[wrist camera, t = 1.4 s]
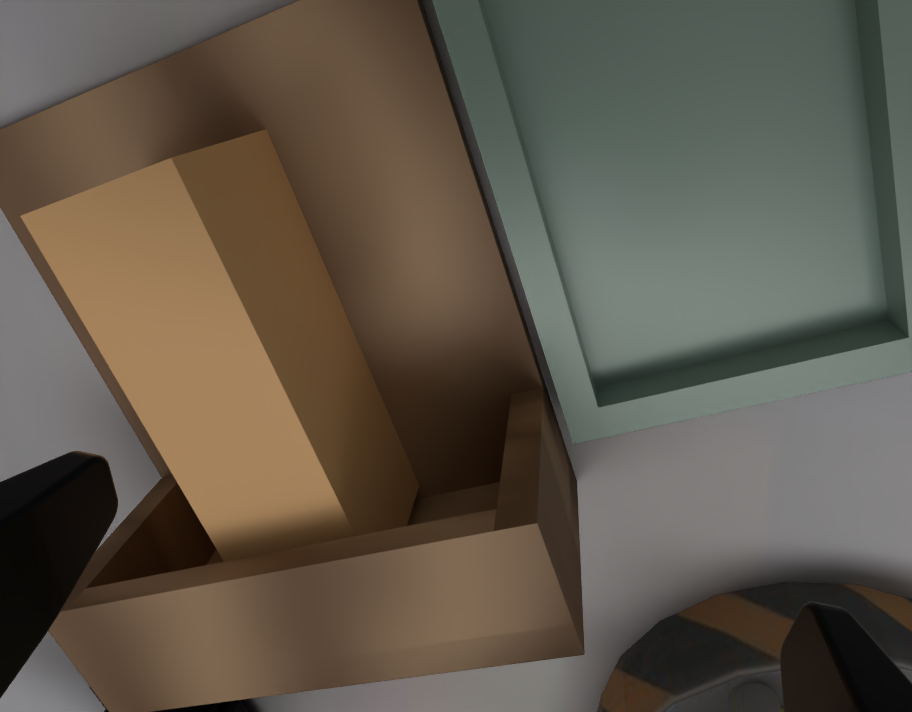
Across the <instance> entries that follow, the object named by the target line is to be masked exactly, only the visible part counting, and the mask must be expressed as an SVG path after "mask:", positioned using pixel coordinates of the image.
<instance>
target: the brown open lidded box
mask: <svg viewBox="0 0 912 712" xmlns="http://www.w3.org/2000/svg"><path fill="white" fill-rule="evenodd" d="M265 129H267V132H268V134H269V136H270V139H271V141H272V143H273V146H274V148H275V150H276V153H277V155H278V157H279V160H280V162H281V164H282V167H283V169H284V171H285V174H286V176H287V178H288V181H289V183H290V185H291V188H292V190H293V192H294V195H295V197H296V199H297V202H298V204H299V206H300V209H301V211H302V213H303V216H304V218H305V220H306V223H307V225H308V227H309V230H310V232H311V234H312V237H313V239H314V241H315V244H316V246H317V248H318V251H319V253H320V255H321V258H322V260H323V262H324V265H325V267H326V269H327V272H328V274H329V276H330V279H331V281H332V283H333V286H334V288H335V290H336V292H337V295H338V297H339V299H340V302H341V304H342V306H343V309H344V311H345V313H346V316H347V318H348V320H349V323H350V325H351V327H352V330H353V332H354V334H355V337H356V339H357V341H358V344H359V346H360V348H361V351H362V353H363V355H364V358H365V360H366V362H367V365H368V367H369V369H370V372H371V374H372V376H373V379H374V381H375V383H376V386H377V388H378V390H379V393H380V395H381V397H382V400H383V402H384V404H385V407H386V409H387V411H388V414H389V416H390V418H391V421H392V423H393V425H394V428H395V430H396V432H397V435H398V437H399V439H400V442H401V444H402V446H403V449H404V451H405V453H406V456H407V458H408V460H409V463H410V465H411V467H412V470H413V472H414V474H415V477H416V479H417V481H418V484H419V488H418V491H417V495H416V498H415V501H414V504H413V507H412V511H411V514H410V517H409V520H408V524H407V526H405V527H400V528H395V529H390V530H385V531H379V532H374V533H369V534H364V535H359V536H354V537H349V538H343V539H338V540H333V541H328V542H323V543H318V544H313V545H307V546H302V547H297V548H292V549H287V550H282V551H277V552H271V553H266V554H261V555H256V556H251V557H246V558H241V559H235V560H230V561H225V562H224V561H223V559H222V558H221V556H220V554H219V552H218V551H217V549H216V547H215V546H214V544H213V542H212V541H211V539H210V537H209V535H208V534H207V532H206V530H205V529H204V527H203V525H202V524H201V522H200V520H199V519H198V517H197V515H196V513H195V512H194V510H193V508H192V507H191V505H190V503H189V502H188V500H187V498H186V496H185V495H184V493H183V491H182V490H181V488H180V486H179V485H178V483H177V481H176V479H175V478H174V476H173V474H172V473H171V471H170V469H169V468H168V466H167V464H166V463H165V461H164V459H163V457H162V456H161V454H160V452H159V451H158V449H157V447H156V446H155V444H154V442H153V440H152V439H151V437H150V435H149V434H148V432H147V430H146V429H145V427H144V425H143V424H142V422H141V420H140V418H139V417H138V415H137V413H136V412H135V410H134V408H133V407H132V405H131V403H130V401H129V400H128V398H127V396H126V395H125V393H124V391H123V390H122V388H121V386H120V384H119V383H118V381H117V379H116V378H115V376H114V374H113V373H112V371H111V369H110V368H109V366H108V364H107V362H106V361H105V359H104V357H103V356H102V354H101V352H100V351H99V349H98V347H97V345H96V344H95V342H94V340H93V339H92V337H91V335H90V334H89V332H88V330H87V329H86V327H85V325H84V323H83V322H82V320H81V318H80V317H79V315H78V313H77V312H76V310H75V308H74V306H73V305H72V303H71V301H70V300H69V298H68V296H67V295H66V293H65V291H64V289H63V288H62V286H61V284H60V283H59V281H58V279H57V278H56V276H55V274H54V273H53V271H52V269H51V267H50V266H49V264H48V262H47V261H46V259H45V257H44V256H43V254H42V252H41V250H40V249H39V247H38V245H37V244H36V242H35V240H34V239H33V237H32V235H31V234H30V232H29V230H28V228H27V227H26V225H25V223H24V222H23V220H22V218H21V217H20V216H21V215H24V214H27V213H29V212H32V211H34V210H37V209H40V208H42V207H45V206H47V205H50V204H53V203H55V202H58V201H60V200H63V199H66V198H68V197H71V196H73V195H76V194H79V193H81V192H84V191H86V190H89V189H92V188H94V187H97V186H99V185H102V184H105V183H107V182H110V181H112V180H115V179H118V178H120V177H123V176H125V175H128V174H130V173H133V172H136V171H138V170H141V169H143V168H146V167H149V166H151V165H154V164H156V163H159V162H162V161H164V160H167V159H169V158H172V157H176V156H179V155H182V154H186V153H189V152H192V151H195V150H199V149H202V148H205V147H209V146H212V145H215V144H219V143H222V142H225V141H229V140H232V139H235V138H239V137H242V136H245V135H248V134H252V133H255V132H258V131H262V130H265ZM0 208H1V209H2V211H3V213H4V214H5V216H6V218H7V219H8V221H9V223H10V224H11V226H12V228H13V229H14V231H15V233H16V234H17V236H18V238H19V239H20V241H21V243H22V244H23V246H24V248H25V249H26V251H27V253H28V254H29V256H30V258H31V259H32V261H33V263H34V265H35V266H36V268H37V270H38V271H39V273H40V275H41V276H42V278H43V280H44V281H45V283H46V285H47V286H48V288H49V290H50V291H51V293H52V295H53V296H54V298H55V300H56V301H57V303H58V305H59V306H60V308H61V310H62V311H63V313H64V315H65V316H66V318H67V320H68V321H69V323H70V325H71V326H72V328H73V330H74V331H75V333H76V335H77V336H78V338H79V340H80V341H81V343H82V345H83V346H84V348H85V350H86V351H87V353H88V355H89V357H90V358H91V360H92V362H93V363H94V365H95V367H96V368H97V370H98V372H99V373H100V375H101V377H102V378H103V380H104V382H105V383H106V385H107V387H108V388H109V390H110V392H111V393H112V395H113V397H114V398H115V400H116V402H117V403H118V405H119V407H120V408H121V410H122V412H123V413H124V415H125V417H126V418H127V420H128V422H129V423H130V425H131V427H132V428H133V430H134V432H135V433H136V435H137V437H138V438H139V440H140V442H141V443H142V445H143V447H144V449H145V450H146V452H147V454H148V455H149V457H150V459H151V460H152V462H153V464H154V465H155V467H156V469H157V470H158V472H159V474H160V475H161V477H162V479H161V480H160V481H159V482H158V483H157V484H156V485H155V486H154V488H153V489H152V490H151V491H150V492H149V493H148V494H147V495H146V496H145V498H144V499H143V500H142V501H141V502H140V503H139V504H138V505H137V506H136V507H135V509H134V510H133V511H132V512H131V513H130V514H129V515H128V516H127V517H126V518H125V520H124V521H123V522H122V523H121V524H120V525H119V526H118V527H117V528H116V530H115V531H114V532H113V533H112V534H111V535H110V536H109V537H108V538H107V539H106V541H105V542H104V543H103V544H102V545H101V546H100V547H99V548H98V549H97V551H96V552H95V553H94V555H93V556H92V558H91V560H90V562H89V563H88V565H87V567H86V569H85V570H84V572H83V574H82V576H81V577H80V579H79V581H78V582H77V584H76V586H75V588H74V589H73V591H72V593H71V595H70V596H69V598H68V600H67V602H66V603H65V605H64V607H63V608H62V610H61V611H60V613H59V615H58V616H57V618H56V620H55V621H54V623H53V624H52V626H51V627H50V628H49V630H48V631H49V632H50V634H51V635H52V636H53V638H54V639H55V640H56V642H57V643H58V644H59V646H60V647H61V648H62V650H63V651H64V652H65V654H66V655H67V656H68V658H69V659H70V660H71V662H72V663H73V664H74V666H75V667H76V668H77V670H78V671H79V672H80V674H81V675H82V676H83V678H84V679H85V680H86V682H87V683H88V684H89V686H90V687H91V688H92V690H93V691H94V692H95V694H96V695H97V696H98V698H99V699H100V700H101V702H102V703H103V704H104V706H105V707H106V708H107V710H108V711H109V712H151V711H159V710H167V709H174V708H182V707H189V706H197V705H205V704H212V703H220V702H228V701H235V700H243V699H250V698H258V697H266V696H273V695H281V694H288V693H296V692H304V691H311V690H319V689H326V688H334V687H342V686H349V685H357V684H364V683H372V682H380V681H387V680H395V679H402V678H410V677H418V676H425V675H433V674H441V673H448V672H456V671H463V670H471V669H479V668H486V667H494V666H501V665H509V664H517V663H524V662H532V661H539V660H547V659H555V658H562V657H570V656H577V655H584V632H583V609H582V586H581V563H580V540H579V517H578V495H577V481H576V477H575V474H574V471H573V468H572V465H571V462H570V459H569V456H568V453H567V450H566V447H565V443H564V440H563V437H562V434H561V431H560V428H559V425H558V422H557V419H556V416H555V413H554V409H553V406H552V403H551V400H550V397H549V394H548V391H547V388H546V385H545V382H544V378H543V375H542V372H541V369H540V366H539V363H538V360H537V357H536V354H535V351H534V348H533V344H532V341H531V338H530V335H529V332H528V329H527V326H526V323H525V320H524V317H523V314H522V310H521V307H520V304H519V301H518V298H517V295H516V292H515V289H514V286H513V283H512V279H511V276H510V273H509V270H508V267H507V264H506V261H505V258H504V255H503V252H502V249H501V245H500V242H499V239H498V236H497V233H496V230H495V227H494V224H493V221H492V218H491V214H490V211H489V208H488V205H487V202H486V199H485V196H484V193H483V190H482V187H481V184H480V180H479V177H478V174H477V171H476V168H475V165H474V162H473V159H472V156H471V153H470V150H469V146H468V143H467V140H466V137H465V134H464V131H463V128H462V125H461V122H460V119H459V115H458V112H457V109H456V106H455V103H454V100H453V97H452V94H451V91H450V88H449V85H448V81H447V78H446V75H445V72H444V69H443V66H442V63H441V60H440V57H439V54H438V50H437V47H436V44H435V41H434V38H433V35H432V32H431V29H430V26H429V23H428V20H427V16H426V13H425V10H424V7H423V4H422V1H421V0H299V1H296V2H294V3H292V4H289V5H287V6H285V7H282V8H280V9H278V10H275V11H273V12H271V13H269V14H266V15H264V16H262V17H259V18H257V19H255V20H252V21H250V22H248V23H245V24H243V25H241V26H238V27H236V28H234V29H232V30H229V31H227V32H225V33H222V34H220V35H218V36H215V37H213V38H211V39H208V40H206V41H204V42H201V43H199V44H197V45H194V46H192V47H190V48H188V49H185V50H183V51H181V52H178V53H176V54H174V55H171V56H169V57H167V58H164V59H162V60H160V61H157V62H155V63H153V64H150V65H148V66H146V67H144V68H141V69H139V70H137V71H134V72H132V73H130V74H127V75H125V76H123V77H120V78H118V79H116V80H113V81H111V82H109V83H107V84H104V85H102V86H100V87H97V88H95V89H93V90H90V91H88V92H86V93H83V94H81V95H79V96H76V97H74V98H72V99H69V100H67V101H65V102H63V103H60V104H58V105H56V106H53V107H51V108H49V109H46V110H44V111H42V112H39V113H37V114H35V115H32V116H30V117H28V118H26V119H23V120H21V121H19V122H16V123H14V124H12V125H9V126H7V127H5V128H2V129H0Z"/></svg>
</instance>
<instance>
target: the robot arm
mask: <svg viewBox="0 0 912 712" xmlns="http://www.w3.org/2000/svg"><path fill="white" fill-rule="evenodd" d="M117 508H118V498H117V494H116V490H115V486H114V482H113V478H112V475H111V471H110V467H109V464H108V461H107V460H106V459H105V458H104V457H102V456H100V455H96V454H91V453H86V452H81V451H73V452H70V453H67V454H64V455H62V456H60V457H57V458H55V459H53V460H51V461H48V462H46V463H44V464H41V465H39V466H37V467H34V468H32V469H30V470H27V471H25V472H23V473H20V474H18V475H16V476H13V477H11V478H9V479H6V480H4V481H2V482H0V698H1V697H2V695H3V694H4V692H5V691H6V690H7V688H8V687H9V685H10V684H11V683H12V681H13V680H14V678H15V677H16V675H17V674H18V673H19V671H20V670H21V668H22V667H23V666H24V664H25V663H26V661H27V660H28V659H29V657H30V656H31V654H32V653H33V651H34V650H35V649H36V647H37V646H38V644H39V643H40V642H41V640H42V639H43V637H44V636H45V634H46V633H47V631H48V630H49V628H50V627H51V626H52V624H53V623H54V621H55V620H56V618H57V616H58V615H59V613H60V611H61V610H62V608H63V607H64V605H65V603H66V602H67V600H68V598H69V596H70V595H71V593H72V591H73V589H74V588H75V586H76V584H77V582H78V581H79V579H80V577H81V576H82V574H83V572H84V570H85V569H86V567H87V565H88V563H89V562H90V560H91V558H92V556H93V555H94V553H95V551H96V549H97V548H98V546H99V544H100V542H101V541H102V539H103V537H104V535H105V534H106V532H107V530H108V528H109V527H110V525H111V523H112V521H113V520H114V517H115V515H116V512H117ZM780 668H781V681H782V693H783V705H784V712H912V682H911V681H910V680H909V679H908V678H907V677H906V675H905V674H904V673H903V672H902V671H901V670H900V669H899V668H898V666H897V665H896V664H895V663H894V662H893V661H892V660H891V658H890V657H889V656H888V655H887V654H886V653H885V652H884V651H883V649H882V648H881V647H880V646H879V645H878V644H877V643H876V641H875V640H874V639H873V638H872V637H871V636H870V635H869V634H868V632H867V631H866V630H865V629H864V628H863V627H862V626H861V624H860V623H859V622H858V621H857V620H856V619H855V618H854V617H853V615H852V614H851V613H850V612H848V611H847V610H846V609H844V608H842V607H838V606H834V605H829V604H824V603H819V602H814V601H810V602H807V603H806V604H804V605H803V607H802V608H801V610H800V611H799V613H798V615H797V617H796V619H795V621H794V623H793V625H792V626H791V628H790V630H789V632H788V634H787V636H786V638H785V640H784V642H783V644H782V648H781V653H780ZM89 687H90V686H89ZM90 688H91V687H90ZM91 690H92V688H91ZM92 691H93V690H92ZM93 693H94V694H95V692H94V691H93ZM95 695H96V694H95ZM96 697H97V698H98V696H97V695H96ZM98 699H99V698H98ZM99 701H100V702H101V700H100V699H99ZM101 703H102V702H101ZM102 705H103V706H104V704H103V703H102ZM104 707H105V706H104ZM104 712H109V711H108V710H107V708H106V707H105V711H104ZM151 712H251V711H250V710H249V708H248V707H247V705H246V704H245V702H244V700H235V701H228V702H220V703H212V704H205V705H197V706H189V707H182V708H174V709H167V710H159V711H151Z"/></svg>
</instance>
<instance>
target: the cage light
mask: <svg viewBox="0 0 912 712" xmlns="http://www.w3.org/2000/svg"><path fill="white" fill-rule="evenodd" d="M810 601H814V602H819V603H824V604H829V605H834V606H838V607H842V608H844V609H846V610H847V611H848V612H850V613H851V614H852V615H853V617H854V618H855V619H856V620H857V621H858V622H859V623H860V624H861V626H862V627H863V628H864V629H865V630H866V631H867V632H868V634H869V635H870V636H871V637H872V638H873V639H874V640H875V641H876V643H877V644H878V645H879V646H880V647H881V648H882V649H883V651H884V652H885V653H886V654H887V655H888V656H889V657H890V658H891V660H892V661H893V662H894V663H895V664H896V665H897V666H898V668H899V669H900V670H901V671H902V672H903V673H904V674H905V675H906V677H907V678H908V679H909V680H910V681H911V682H912V599H908V598H904V597H901V596H897V595H893V594H890V593H886V592H882V591H879V590H875V589H872V588H868V587H864V586H861V585H857V584H831V583H799V582H781V583H776V584H771V585H766V586H761V587H756V588H751V589H746V590H740V591H735V592H730V593H725V594H720V595H715V596H713V597H711V598H709V599H707V600H705V601H702V602H700V603H698V604H696V605H694V606H692V607H690V608H687V609H685V610H683V611H681V612H679V613H677V614H675V615H672V616H670V617H668V618H666V619H664V620H662V621H660V622H658V623H657V624H656V625H655V626H654V627H653V628H652V629H651V630H649V631H648V632H647V633H646V634H645V635H644V636H643V637H642V638H641V639H639V640H638V641H637V642H636V643H635V644H634V645H633V646H632V647H631V648H629V649H628V650H627V651H626V652H625V653H624V654H623V655H622V656H621V657H620V659H619V661H618V663H617V665H616V667H615V669H614V671H613V673H612V675H611V677H610V679H609V681H608V683H607V685H606V687H605V689H604V691H603V693H602V695H601V698H600V702H599V707H598V711H597V712H784V705H783V693H782V681H781V668H780V653H781V648H782V644H783V642H784V640H785V638H786V636H787V634H788V632H789V630H790V628H791V626H792V625H793V623H794V621H795V619H796V617H797V615H798V613H799V611H800V610H801V608H802V607H803V605H804V604H806V603H807V602H810Z"/></svg>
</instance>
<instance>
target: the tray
mask: <svg viewBox="0 0 912 712" xmlns="http://www.w3.org/2000/svg"><path fill="white" fill-rule="evenodd" d="M432 2H433V5H434V8H435V12H436V15H437V18H438V21H439V24H440V27H441V31H442V34H443V37H444V40H445V43H446V46H447V49H448V53H449V56H450V59H451V62H452V65H453V68H454V71H455V75H456V78H457V81H458V84H459V87H460V90H461V93H462V97H463V100H464V103H465V106H466V109H467V112H468V115H469V119H470V122H471V125H472V128H473V131H474V134H475V137H476V141H477V144H478V147H479V150H480V153H481V156H482V160H483V163H484V166H485V169H486V172H487V175H488V178H489V182H490V185H491V188H492V191H493V194H494V197H495V200H496V204H497V207H498V210H499V213H500V216H501V219H502V222H503V226H504V229H505V232H506V235H507V238H508V241H509V244H510V248H511V251H512V254H513V257H514V260H515V263H516V266H517V270H518V273H519V276H520V279H521V282H522V285H523V289H524V292H525V295H526V298H527V301H528V304H529V307H530V311H531V314H532V317H533V320H534V323H535V326H536V329H537V333H538V336H539V339H540V342H541V345H542V348H543V351H544V355H545V358H546V361H547V364H548V367H549V370H550V373H551V377H552V380H553V383H554V386H555V389H556V392H557V395H558V399H559V402H560V405H561V408H562V411H563V414H564V418H565V421H566V424H567V427H568V430H569V433H570V436H571V440H572V443H573V444H576V443H581V442H585V441H590V440H595V439H599V438H604V437H609V436H613V435H618V434H623V433H628V432H632V431H637V430H642V429H646V428H651V427H656V426H660V425H665V424H670V423H674V422H679V421H684V420H688V419H693V418H698V417H702V416H707V415H712V414H716V413H721V412H726V411H730V410H735V409H740V408H744V407H749V406H754V405H759V404H763V403H768V402H773V401H777V400H782V399H787V398H791V397H796V396H801V395H805V394H810V393H815V392H819V391H824V390H829V389H833V388H838V387H843V386H847V385H852V384H857V383H861V382H866V381H871V380H875V379H880V378H885V377H890V376H894V375H899V374H904V373H908V372H912V0H432Z"/></svg>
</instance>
